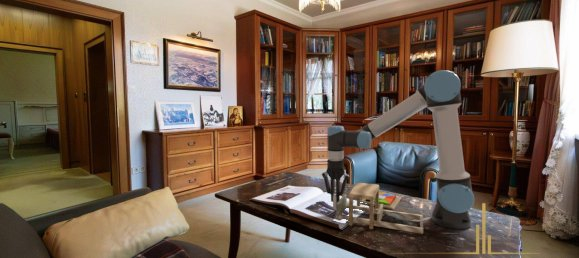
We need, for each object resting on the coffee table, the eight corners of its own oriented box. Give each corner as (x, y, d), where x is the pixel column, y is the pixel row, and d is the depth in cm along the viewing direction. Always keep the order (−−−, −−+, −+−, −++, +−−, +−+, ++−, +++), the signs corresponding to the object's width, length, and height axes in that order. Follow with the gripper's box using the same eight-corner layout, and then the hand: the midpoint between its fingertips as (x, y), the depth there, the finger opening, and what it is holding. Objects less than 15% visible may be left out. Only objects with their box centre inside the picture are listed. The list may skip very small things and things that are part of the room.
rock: (412, 226, 118) (412, 213, 118) (392, 231, 114) (392, 217, 113) (395, 219, 127) (396, 206, 126) (376, 223, 122) (377, 210, 122)
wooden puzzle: (358, 204, 147) (358, 197, 146) (370, 194, 162) (370, 188, 162) (392, 211, 137) (393, 204, 136) (402, 200, 152) (402, 193, 152)
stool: (378, 213, 133) (379, 184, 131) (372, 229, 116) (373, 196, 115) (357, 210, 137) (357, 182, 135) (348, 225, 120) (349, 193, 119)
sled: (422, 219, 123) (423, 204, 122) (423, 233, 110) (423, 216, 109) (344, 208, 138) (344, 194, 137) (336, 219, 124) (336, 204, 124)
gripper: (351, 158, 130) (350, 207, 133) (324, 156, 136) (324, 203, 138) (347, 161, 124) (347, 213, 126) (319, 159, 129) (319, 209, 131)
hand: (335, 208), depth 132 cm, fingers closed
